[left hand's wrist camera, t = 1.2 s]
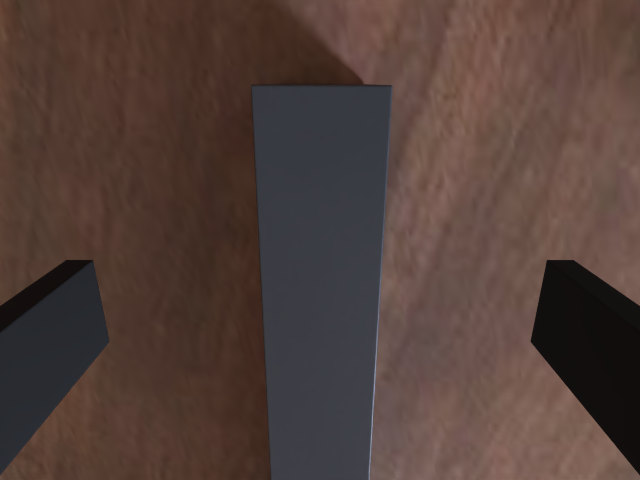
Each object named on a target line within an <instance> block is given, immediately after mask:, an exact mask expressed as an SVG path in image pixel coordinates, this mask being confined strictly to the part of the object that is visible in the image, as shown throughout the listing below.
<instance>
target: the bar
mask: <svg viewBox="0 0 640 480" xmlns="http://www.w3.org/2000/svg"><path fill="white" fill-rule="evenodd" d="M251 97H252V117H253V137H254V157H255V176H256V196H257V216H258V236H259V256H260V276H261V296H262V315H263V335H264V355H265V375H266V395H267V415H268V435H269V454H270V474H271V480H369V476H370V459H371V442H372V425H373V408H374V391H375V374H376V357H377V340H378V323H379V307H380V290H381V273H382V256H383V239H384V222H385V205H386V188H387V171H388V154H389V137H390V120H391V103H392V86H391V85H368V84H264V85H251Z"/></svg>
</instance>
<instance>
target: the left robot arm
mask: <svg viewBox="0 0 640 480" xmlns="http://www.w3.org/2000/svg"><path fill="white" fill-rule="evenodd" d="M108 343H109V337H108V332H107V327H106V322H105V317H104V312H103V307H102V302H101V297H100V292H99V287H98V283H97V278H96V273H95V268H94V263H93V260H66V261H65V262H63V263H62V264H60V265H59V266H57V267H56V268H54V269H53V270H52V271H50V272H49V273H47V274H46V275H44V276H43V277H41V278H40V279H39V280H37V281H36V282H34V283H33V284H31V285H30V286H28V287H27V288H26V289H24V290H23V291H21V292H20V293H18V294H17V295H15V296H14V297H13V298H11V299H10V300H8V301H7V302H5V303H4V304H2V305H1V306H0V475H1V474H2V472H3V471H4V470H5V469H6V467H7V466H8V465H9V464H10V463H11V461H12V460H13V459H14V458H15V456H16V455H17V454H18V453H19V452H20V450H21V449H22V448H23V447H24V445H25V444H26V443H27V442H28V441H29V439H30V438H31V437H32V436H33V434H34V433H35V432H36V431H37V430H38V428H39V427H40V426H41V425H42V423H43V422H44V421H45V420H46V419H47V417H48V416H49V415H50V414H51V412H52V411H53V410H54V409H55V408H56V406H57V405H58V404H59V403H60V401H61V400H62V399H63V398H64V397H65V395H66V394H67V393H68V392H69V390H70V389H71V388H72V387H73V386H74V384H75V383H76V382H77V381H78V379H79V378H80V377H81V376H82V375H83V373H84V372H85V371H86V370H87V368H88V367H89V366H90V365H91V364H92V362H93V361H94V360H95V359H96V357H97V356H98V355H99V354H100V353H101V351H102V350H103V349H104V348H105V346H106V345H107V344H108ZM531 343H532V344H533V345H534V346H535V348H536V349H537V350H538V351H539V353H540V354H541V355H542V356H543V357H544V359H545V360H546V361H547V362H548V364H549V365H550V366H551V367H552V368H553V370H554V371H555V372H556V373H557V375H558V376H559V377H560V378H561V379H562V381H563V382H564V383H565V384H566V386H567V387H568V388H569V389H570V390H571V392H572V393H573V394H574V395H575V397H576V398H577V399H578V400H579V401H580V403H581V404H582V405H583V406H584V408H585V409H586V410H587V411H588V412H589V414H590V415H591V416H592V417H593V419H594V420H595V421H596V422H597V423H598V425H599V426H600V427H601V428H602V430H603V431H604V432H605V433H606V434H607V436H608V437H609V438H610V439H611V441H612V442H613V443H614V444H615V445H616V447H617V448H618V449H619V450H620V452H621V453H622V454H623V455H624V456H625V458H626V459H627V460H628V461H629V463H630V464H631V465H632V466H633V467H634V469H635V470H636V471H637V472H638V474H639V475H640V306H639V305H638V304H636V303H635V302H633V301H632V300H630V299H629V298H627V297H626V296H625V295H623V294H622V293H620V292H619V291H617V290H616V289H614V288H613V287H612V286H610V285H609V284H607V283H606V282H604V281H603V280H601V279H600V278H599V277H597V276H596V275H594V274H593V273H591V272H590V271H588V270H587V269H586V268H584V267H583V266H581V265H580V264H578V263H577V262H575V261H574V260H547V263H546V268H545V273H544V278H543V283H542V287H541V292H540V297H539V302H538V307H537V312H536V317H535V322H534V327H533V332H532V337H531Z"/></svg>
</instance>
